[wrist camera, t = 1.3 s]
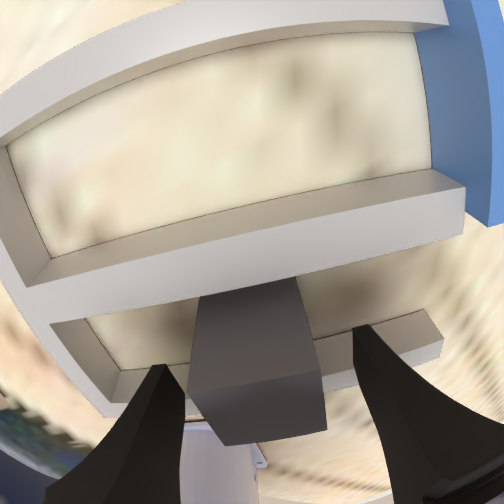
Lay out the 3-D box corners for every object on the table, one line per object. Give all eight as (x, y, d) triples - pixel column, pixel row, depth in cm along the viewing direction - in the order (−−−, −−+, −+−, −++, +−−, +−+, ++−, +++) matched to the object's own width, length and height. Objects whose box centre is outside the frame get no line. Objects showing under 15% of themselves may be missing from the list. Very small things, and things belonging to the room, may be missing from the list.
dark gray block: (303, 328, 15) (327, 429, 10) (226, 343, 16) (225, 446, 10) (290, 262, 14) (320, 368, 8) (201, 281, 14) (186, 391, 9)
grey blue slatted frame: (441, 320, 16) (472, 366, 12) (113, 386, 17) (98, 437, 14) (433, 4, 8) (494, -11, 4) (-20, 131, 9) (-78, 152, 6)
